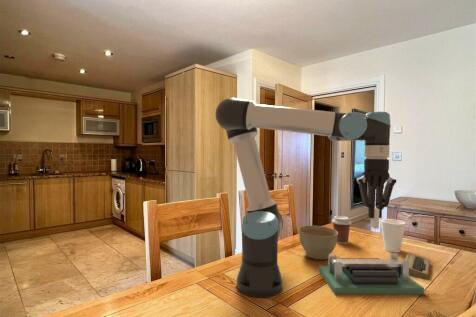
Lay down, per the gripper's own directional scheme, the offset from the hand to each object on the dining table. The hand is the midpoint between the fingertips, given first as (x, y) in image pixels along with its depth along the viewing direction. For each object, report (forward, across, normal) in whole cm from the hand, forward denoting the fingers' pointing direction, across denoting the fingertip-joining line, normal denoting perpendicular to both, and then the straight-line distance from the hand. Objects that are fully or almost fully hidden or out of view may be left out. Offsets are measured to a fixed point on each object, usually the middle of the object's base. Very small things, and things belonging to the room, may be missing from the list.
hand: (374, 227), depth 92 cm
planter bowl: (+19, -12, +23) cm, 32 cm away
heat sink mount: (+19, -2, 0) cm, 19 cm away
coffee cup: (+19, +5, +41) cm, 45 cm away
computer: (+19, +22, +10) cm, 31 cm away
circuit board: (+19, -2, 0) cm, 19 cm away
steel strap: (+13, -2, 0) cm, 13 cm away
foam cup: (+19, +24, +30) cm, 42 cm away
